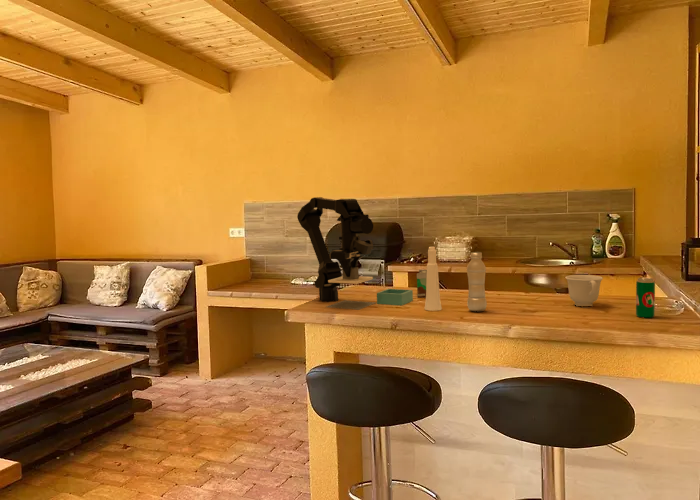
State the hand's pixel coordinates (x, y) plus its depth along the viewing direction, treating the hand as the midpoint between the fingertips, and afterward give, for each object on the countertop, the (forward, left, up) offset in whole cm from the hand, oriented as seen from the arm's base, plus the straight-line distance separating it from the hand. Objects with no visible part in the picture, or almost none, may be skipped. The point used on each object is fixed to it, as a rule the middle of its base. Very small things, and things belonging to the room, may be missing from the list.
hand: (350, 276), depth 193 cm
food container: (+17, +31, -12) cm, 37 cm away
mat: (0, 0, -12) cm, 12 cm away
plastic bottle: (+44, +9, -12) cm, 46 cm away
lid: (0, 0, -2) cm, 2 cm away
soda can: (+94, +18, -12) cm, 96 cm away
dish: (+13, +10, -12) cm, 20 cm away
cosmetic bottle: (+29, +7, -12) cm, 32 cm away
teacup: (+76, +29, -12) cm, 82 cm away
